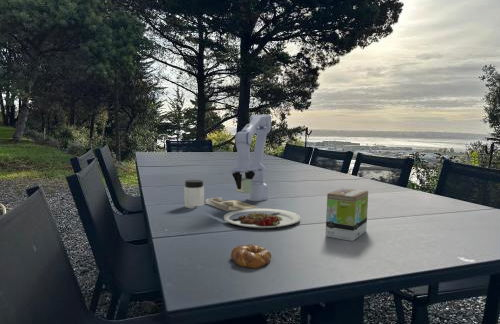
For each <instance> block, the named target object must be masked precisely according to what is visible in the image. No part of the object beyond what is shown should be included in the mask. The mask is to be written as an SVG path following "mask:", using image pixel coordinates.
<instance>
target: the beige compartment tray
mask: <svg viewBox="0 0 500 324" xmlns="http://www.w3.org/2000/svg"><path fill="white" fill-rule="evenodd" d="M205 204H207V205H210V206H212V207H214V208H217V209H220V210H223V211H225V212H232V211H236V210H243V209H257V206H256V205H252V204H251V203H246V202H243V201H240V200H238V199H233V200H223V197H214V198H205Z"/></svg>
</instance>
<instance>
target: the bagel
mask: <svg viewBox="0 0 500 324" xmlns="http://www.w3.org/2000/svg"><path fill="white" fill-rule="evenodd" d="M230 257H231V259H232V261H233V262H235V264H237V265H238V266H240V267H244V268H249V269H259V268H261V267H263V266H265V265H267V264H269V263H270V260H271V259H272V254H271V252H270V250H268V249H267V248H265V247H262V246H259V245H256V244H254V243H253V244H247V245H245V244H241V245H238V246H236V247H234V248H233V249H232V250H231V252H230Z"/></svg>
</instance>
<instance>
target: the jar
mask: <svg viewBox="0 0 500 324" xmlns="http://www.w3.org/2000/svg"><path fill="white" fill-rule="evenodd" d="M184 185H185V186H184V187H183V188H184V189H183V190H184V191H183V192H184V195H183V197H184V200H183V201H184V208H187V209H197V207H201V206H203V205H205V186H204V181H203V180H201V179H188V180H185V181H184Z"/></svg>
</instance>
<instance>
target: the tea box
mask: <svg viewBox="0 0 500 324" xmlns="http://www.w3.org/2000/svg"><path fill="white" fill-rule="evenodd" d="M326 194H327V195H326V214H325V215H326V216H325V217H326V218H325V237H327V238H332V239H338V240H344V241H350V242H351V241H352V242H354V241H355V240H356V239H358V238H359V237H360V236H362V235H363V234H364V233H366V232H367V228H368V227H367V223H368V202H369V200H368V199H369V191H368V190H364V189H363V190H361V189H353V188H343V187H342V188H339V189H336V190H334V191H331V192H327V193H326Z"/></svg>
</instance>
